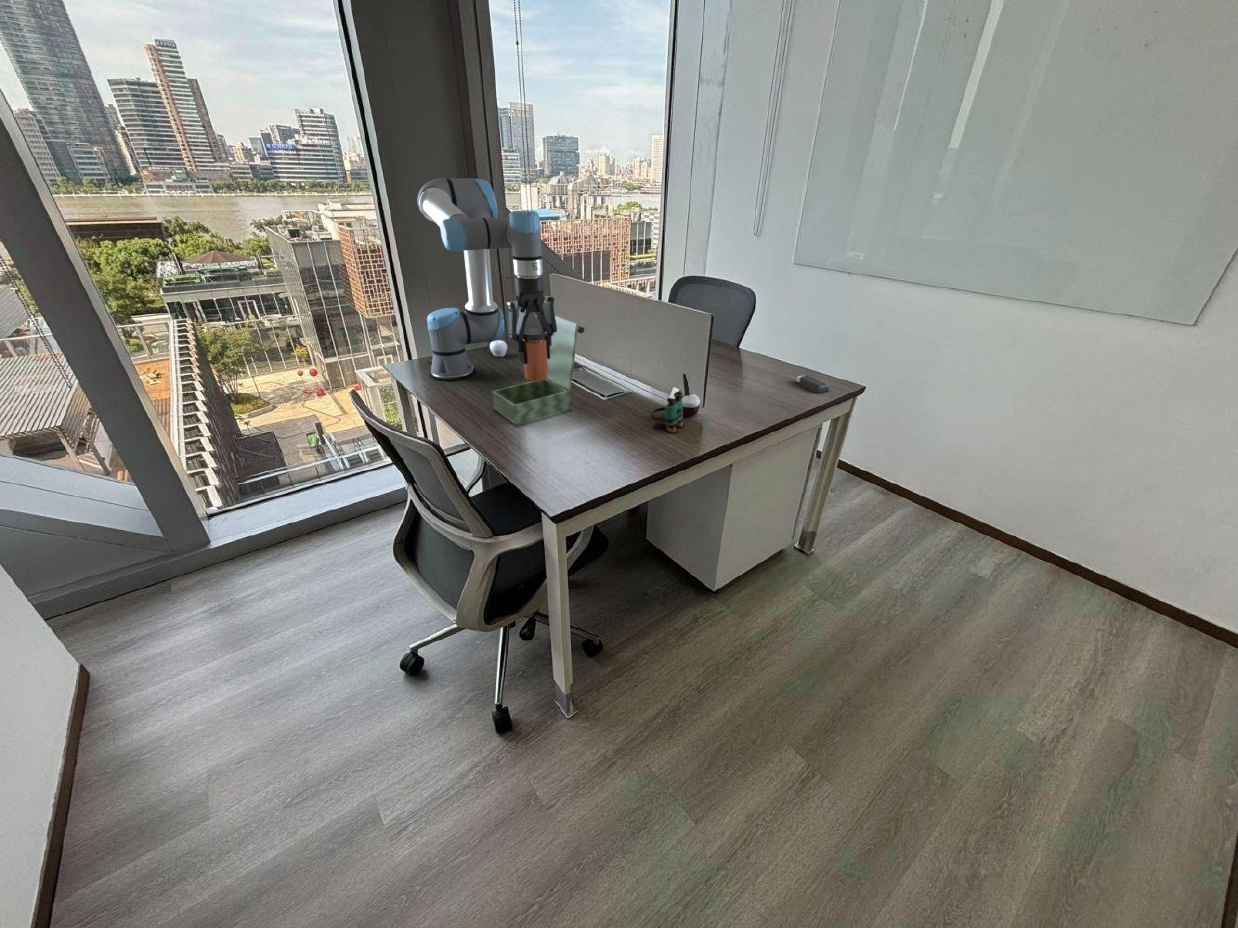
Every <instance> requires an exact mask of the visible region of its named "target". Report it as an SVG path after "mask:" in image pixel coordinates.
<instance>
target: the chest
mask: <svg viewBox="0 0 1238 928" xmlns="http://www.w3.org/2000/svg"><path fill="white" fill-rule="evenodd" d="M491 394H492V400H493V402H492V403H493V408H494V410H495V411H497V412H498V413H500V415H502V416H504V417H505V418H506V419H508V420H509V421H511V422H512V423H513V424H514V425H519V424H523V423H526V422H529V421H533V420H536V419H540V418H543V417H547V416H550V415H554V414H558V413H560V412H564V411H568V410H570V409H571V395H570V394H571V391H570V390H568V389H566V388H564V387H563V386H561V385H559V384H557V383H555V382H553V381H552V380H550V379H548V378H547V379H545V380H541V381H528V382H524V383H520V384H516V385H511V386H507V387H503V388H499V389H495V390H492V391H491Z"/></svg>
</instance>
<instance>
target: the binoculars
mask: <svg viewBox="0 0 1238 928" xmlns="http://www.w3.org/2000/svg"><path fill="white" fill-rule="evenodd" d="M673 397H674V398H671V397H667V398H666V399H667V404H666V405H665V406H664V407H657V408H655V409H653V410H652V411H651V413H650V414H651V415H650V418H651V420H653V421H655V422H654V428H656V429H663V428H664V429H666V431H667V432H669V433H676V432H677V427H683V426H684V425H683V423H684V422H683V420H682V419H683V417H684V415H683V408H682V398H681V397H682V392H680V391H676V392H674V393H673ZM662 411H664V416H663V415H661V416H660V417H656V416H654V414H655V413H657V412H662Z"/></svg>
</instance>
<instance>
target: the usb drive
mask: <svg viewBox="0 0 1238 928" xmlns="http://www.w3.org/2000/svg"><path fill="white" fill-rule="evenodd" d="M795 382H797V383H798V385H799V386H800V387H803V388H805V389H807V390H810V391H812V392H813V393H816V394H820V393H825V392H829V389H830V386H829V385H828V384H827V383H826V382H823V381H822V380H819V379H817V378H814V377H812V376H810V375H799V376H796V378H795Z"/></svg>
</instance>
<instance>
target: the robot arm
mask: <svg viewBox="0 0 1238 928" xmlns="http://www.w3.org/2000/svg"><path fill="white" fill-rule="evenodd" d="M417 207H418V208H419V209H418V210H419V211H420V212H421V214H422V215H423V216H424V218H426V220H428V221H430V222H432V223H434V224H435V225H437V227H439V228H440V236H441V240H442V243H443V245H444V248H445V249H446V250H447V251H449V252H450V251H451V252H452V251H457V252H463V259H464V269H465V278H466V287H467V297H468V301H467V302H466V303H465V305H464V309H465V311H460V309H459V307H458V308H457V307H445V308H440V309H436V310H434V311H432V312H430V313H429V314H428V315H427V317H426V322H427V330H428V334H429V340H430V345H431V350H432V359H428V362H430V363H431V367H430V375H431V377H432V378H434V379H436V380H440V381H454V380H461V379H465V378H468V377H470V376H472V375H473V373H474V365H473V364H472V362H471V360H470V358H469V356H468V353H467V352H466V351H467V350H466V345H472V344H480V343H491V342H492V341H497V340H498V341H499V340H501V338H502V337H503V335H504V331H505V319H504V313H503V311H502V309H501V308H499V306H498V304H497V303H496V302H495V301H494V295H493V281H492V267H491V256H490V255H491V253H490V250H500V249H501V250H502V249H511V252H512V262H513V274H514V275H515V278H514V284H515V293H516V296H515V299H514V300H511V301H510V300H507V301H506V307H507V311H508V312H507V316H508V317H507V319H508V320H507V322H508V323H507V337H508V338H509V339H511V340H513V341H515V350H516V351H517V353H518V355H519V357H518V358H519V362H520V363H521V364H522V365H523V364H527V358H526V347H525V341H524V340H522V338H523V334H524V330H526V326H527V322H528V317H529V316H530V314H532V313H535V314H536V317H537V319H538V322H539V324H540V326H541V330H544V331H545V339H546V345H547V359H550V346H551V345H552V341H551V336H553V333H554V332H557V326H556V319H555V315H556V314H555V308H554V307H555V305H554V303H555V298H554V296H551V295H545V293H544V291H545V283H544V277H543V276H542V275H543V274H544V269H543V253H542V235H541V234H542V233H541V232H542V231H541V229H542V227H541V221H540V215H539V213H538V212H537V211H534V210H512V211H510V212H509V215H508V216H505V215H504V216H502V217H498V204H497V199H496V195H495V192H494V190H493V188H492V186H491V184H490V183H489V182H488V181H487V180H486V179H483V178H482V179H480V178H473V177H470V178H468V177H467V178H464V177H463V178H445V177H440V178H435V179H432V180H429V181H427V182H426V183H425V184H423V185H422V187H421V188H420V189H419V191H418V194H417ZM543 304H544V305H545V309H544V308H543ZM518 307H519V310H518V312H517V309H518ZM544 310H545V311H544ZM545 313H546V315H545ZM517 318H518V319H517Z"/></svg>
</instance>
